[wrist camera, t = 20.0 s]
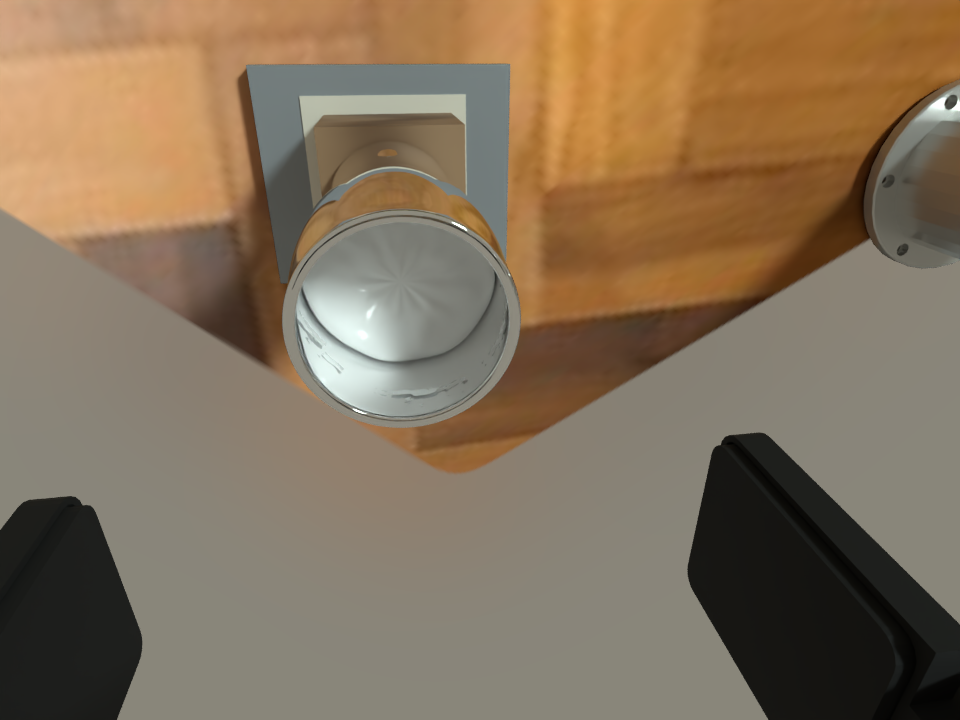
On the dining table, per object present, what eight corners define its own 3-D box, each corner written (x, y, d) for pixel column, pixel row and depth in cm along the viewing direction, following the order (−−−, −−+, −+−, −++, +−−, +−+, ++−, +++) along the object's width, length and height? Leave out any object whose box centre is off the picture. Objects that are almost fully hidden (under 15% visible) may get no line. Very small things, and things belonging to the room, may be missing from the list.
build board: (506, 63, 34) (510, 64, 33) (502, 267, 40) (506, 272, 39) (249, 64, 32) (245, 64, 31) (282, 278, 38) (280, 283, 37)
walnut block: (451, 112, 34) (464, 124, 29) (453, 235, 37) (466, 266, 32) (323, 114, 33) (313, 127, 28) (337, 240, 36) (331, 273, 31)
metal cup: (402, 298, 32) (421, 472, 19) (290, 213, 29) (220, 348, 16) (490, 197, 30) (578, 311, 17) (379, 97, 28) (383, 141, 14)
